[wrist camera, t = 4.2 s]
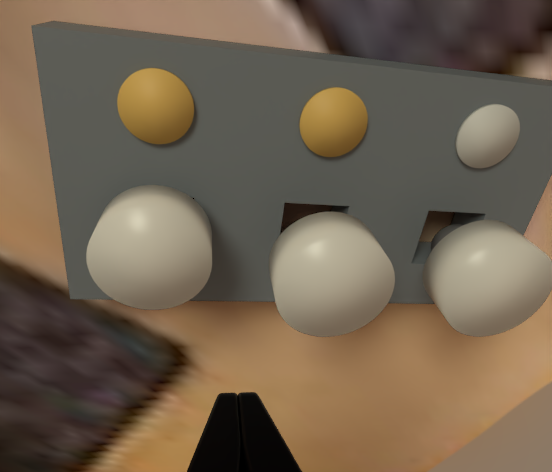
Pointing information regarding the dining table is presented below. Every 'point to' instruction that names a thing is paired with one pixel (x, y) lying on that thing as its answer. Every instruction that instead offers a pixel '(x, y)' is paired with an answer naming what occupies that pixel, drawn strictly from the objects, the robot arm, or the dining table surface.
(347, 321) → the button middle
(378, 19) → the dining table surface
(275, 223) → the board
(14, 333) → the dining table surface
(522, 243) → the white lever knob
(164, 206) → the button inner
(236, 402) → the robot arm
